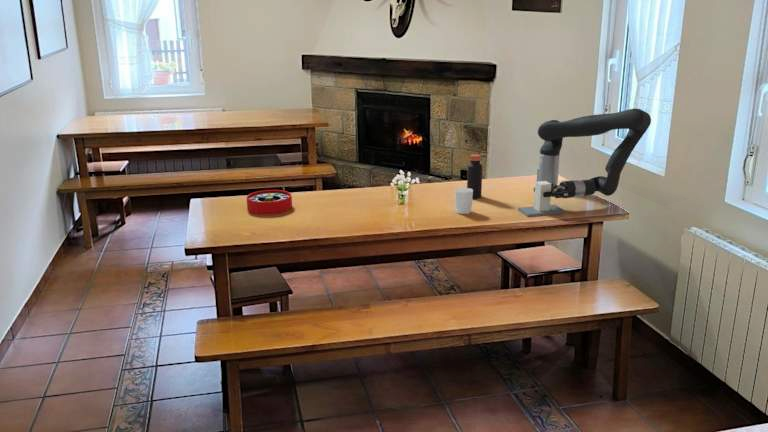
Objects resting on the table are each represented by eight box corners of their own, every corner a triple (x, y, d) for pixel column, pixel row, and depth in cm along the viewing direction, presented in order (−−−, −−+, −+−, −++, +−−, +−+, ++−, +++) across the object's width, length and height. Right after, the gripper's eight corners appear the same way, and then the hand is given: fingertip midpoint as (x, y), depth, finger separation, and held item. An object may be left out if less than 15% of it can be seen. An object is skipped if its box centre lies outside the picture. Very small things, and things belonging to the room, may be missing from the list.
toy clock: (277, 204, 297) (237, 199, 304) (278, 217, 299) (238, 212, 306) (299, 192, 315) (261, 188, 322) (300, 204, 317) (262, 200, 324)
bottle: (480, 199, 321) (482, 157, 314) (466, 198, 322) (467, 156, 316) (481, 195, 327) (483, 153, 321) (467, 194, 328) (468, 153, 322)
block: (539, 211, 299) (540, 184, 295) (533, 208, 303) (535, 181, 299) (549, 210, 300) (551, 183, 296) (544, 207, 304) (545, 180, 301)
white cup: (474, 210, 305) (474, 188, 302) (470, 215, 298) (470, 193, 294) (456, 208, 307) (457, 187, 304) (452, 213, 300) (452, 191, 297)
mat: (527, 216, 295) (527, 214, 295) (517, 209, 304) (517, 207, 304) (565, 213, 299) (565, 210, 299) (554, 206, 308) (555, 204, 308)
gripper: (564, 176, 308) (531, 179, 304) (581, 184, 295) (547, 188, 291) (563, 192, 310) (530, 196, 306) (580, 201, 297) (546, 205, 293)
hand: (538, 192), depth 298 cm, fingers open, 8 cm apart
